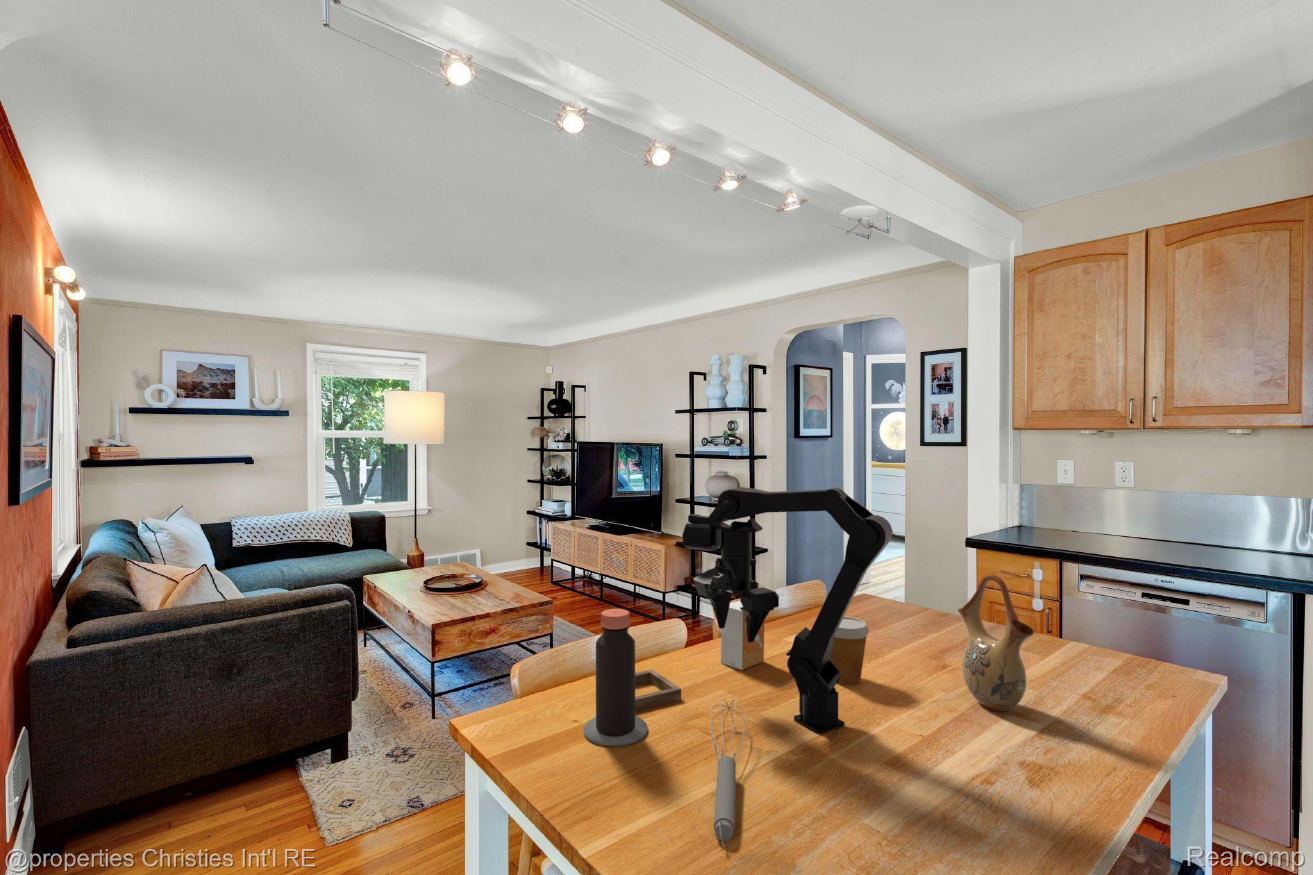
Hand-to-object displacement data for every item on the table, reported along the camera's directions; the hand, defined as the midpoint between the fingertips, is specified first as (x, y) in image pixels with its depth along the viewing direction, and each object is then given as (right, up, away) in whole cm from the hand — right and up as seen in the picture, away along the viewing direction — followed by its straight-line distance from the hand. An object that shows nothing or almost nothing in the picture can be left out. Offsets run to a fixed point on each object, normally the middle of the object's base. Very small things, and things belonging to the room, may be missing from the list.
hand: (735, 634), depth 119 cm
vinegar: (-22, -13, -12) cm, 28 cm away
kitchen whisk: (-4, -14, -25) cm, 29 cm away
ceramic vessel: (+49, -13, -1) cm, 51 cm away
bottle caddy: (-18, -13, +4) cm, 23 cm away
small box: (+4, -13, +21) cm, 25 cm away
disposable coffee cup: (+24, -13, +12) cm, 30 cm away
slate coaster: (-22, -13, -11) cm, 28 cm away
